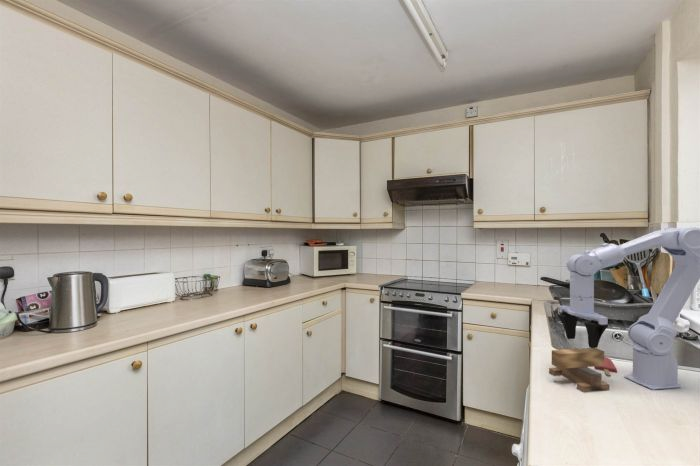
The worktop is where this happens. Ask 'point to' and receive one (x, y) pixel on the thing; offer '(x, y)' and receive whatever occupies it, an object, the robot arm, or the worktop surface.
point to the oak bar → (577, 358)
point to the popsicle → (607, 366)
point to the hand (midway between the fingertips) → (581, 342)
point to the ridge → (582, 378)
